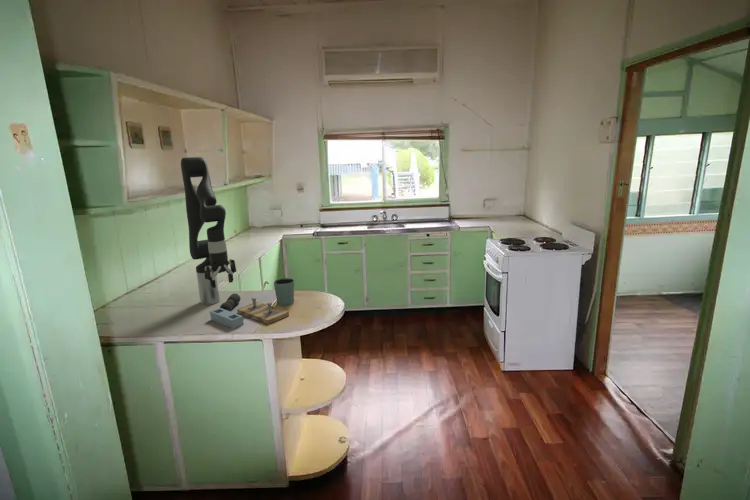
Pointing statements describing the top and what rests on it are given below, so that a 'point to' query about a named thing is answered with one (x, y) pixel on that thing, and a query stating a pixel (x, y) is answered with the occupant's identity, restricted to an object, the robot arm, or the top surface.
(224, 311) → the blue-grey block with holes
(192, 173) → the robot arm
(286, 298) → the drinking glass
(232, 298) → the flashlight
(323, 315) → the top surface
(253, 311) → the mount board
